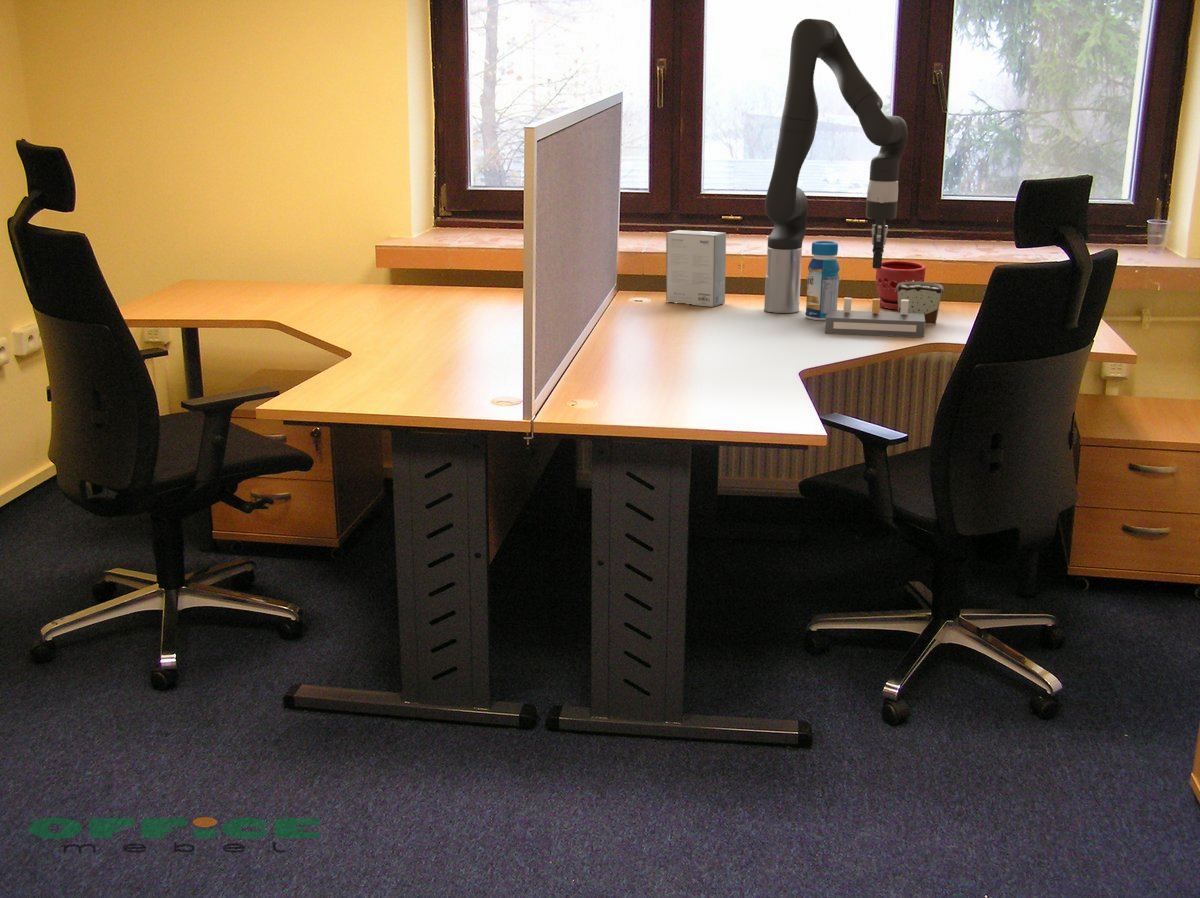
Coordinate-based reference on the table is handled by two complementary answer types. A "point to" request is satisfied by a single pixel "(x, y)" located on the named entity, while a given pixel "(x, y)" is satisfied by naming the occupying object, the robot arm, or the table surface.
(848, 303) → the switch left
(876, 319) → the breaker block
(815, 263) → the beverage bottle
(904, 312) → the switch right
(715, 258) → the hard drive box
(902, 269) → the plant pot
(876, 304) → the switch mid
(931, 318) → the food container
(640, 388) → the table surface
